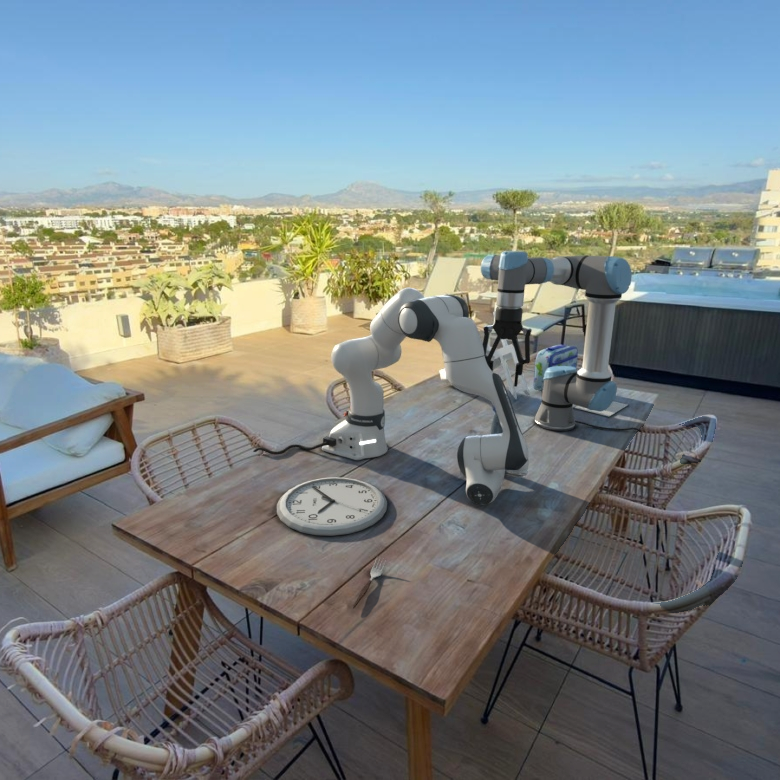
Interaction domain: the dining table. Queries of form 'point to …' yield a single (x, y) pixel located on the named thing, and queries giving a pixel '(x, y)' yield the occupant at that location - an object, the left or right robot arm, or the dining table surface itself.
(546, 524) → the dining table surface
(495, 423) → the bottle
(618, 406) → the invitation card
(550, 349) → the lunch box
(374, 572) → the fork
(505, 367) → the white plastic object
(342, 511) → the wall clock
